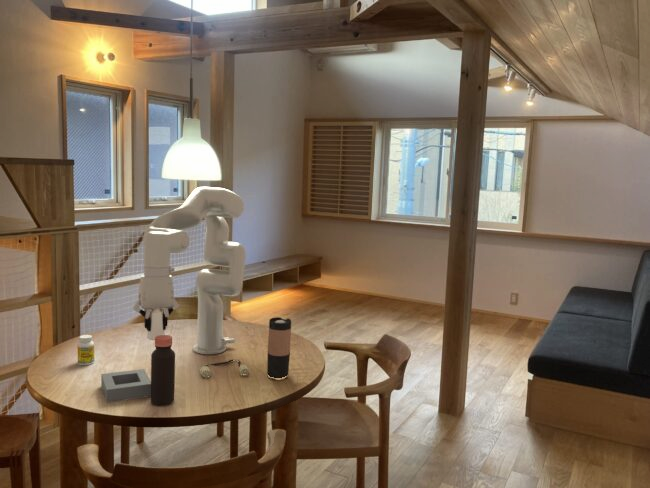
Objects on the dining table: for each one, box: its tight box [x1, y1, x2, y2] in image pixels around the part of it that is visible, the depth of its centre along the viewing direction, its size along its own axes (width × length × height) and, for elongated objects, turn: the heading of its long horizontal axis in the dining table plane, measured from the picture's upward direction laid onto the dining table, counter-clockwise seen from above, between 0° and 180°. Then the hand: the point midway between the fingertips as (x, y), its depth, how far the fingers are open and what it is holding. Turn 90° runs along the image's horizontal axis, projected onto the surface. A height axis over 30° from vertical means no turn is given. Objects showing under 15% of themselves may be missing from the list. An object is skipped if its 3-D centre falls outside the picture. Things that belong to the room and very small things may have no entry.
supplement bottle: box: [77, 334, 95, 366], centre depth 191 cm, size 5×5×10 cm
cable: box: [199, 359, 250, 378], centre depth 193 cm, size 16×16×4 cm
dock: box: [100, 368, 151, 404], centre depth 171 cm, size 13×13×4 cm
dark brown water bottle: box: [150, 334, 176, 407], centre depth 164 cm, size 7×7×20 cm
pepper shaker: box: [146, 308, 166, 341], centre depth 171 cm, size 5×5×11 cm
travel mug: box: [266, 316, 292, 378], centre depth 189 cm, size 8×8×20 cm
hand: (155, 328), depth 172 cm, fingers closed on pepper shaker, 3 cm apart
